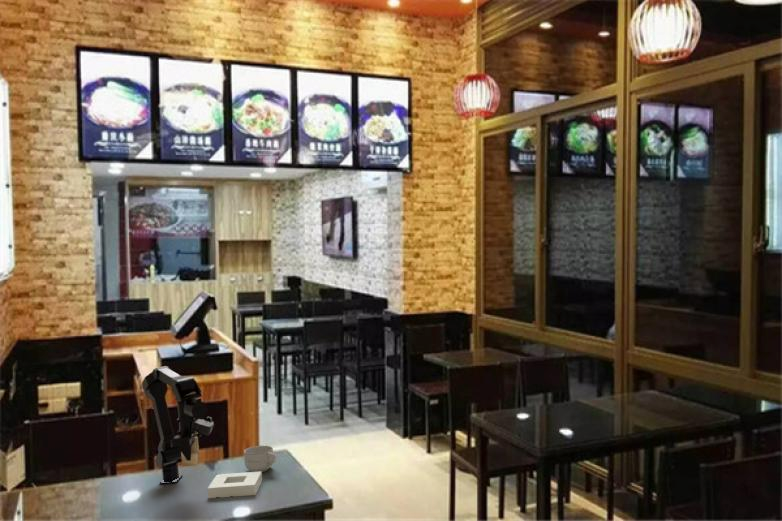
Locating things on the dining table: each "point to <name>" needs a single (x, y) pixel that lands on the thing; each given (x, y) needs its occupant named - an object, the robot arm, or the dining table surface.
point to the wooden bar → (192, 455)
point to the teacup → (259, 458)
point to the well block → (235, 484)
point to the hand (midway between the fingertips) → (190, 458)
